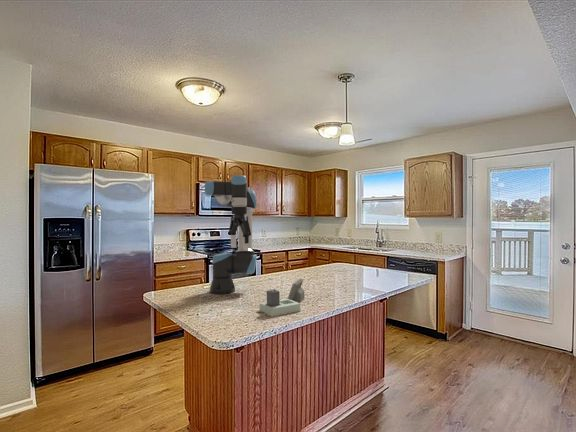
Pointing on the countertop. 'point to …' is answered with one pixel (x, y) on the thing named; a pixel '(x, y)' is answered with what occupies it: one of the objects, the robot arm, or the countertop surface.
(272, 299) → the charger
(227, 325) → the countertop surface
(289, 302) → the outlet plate
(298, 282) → the digital clock
